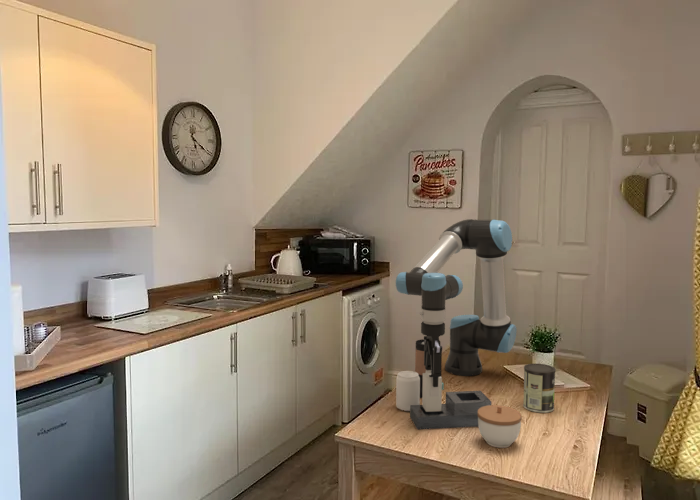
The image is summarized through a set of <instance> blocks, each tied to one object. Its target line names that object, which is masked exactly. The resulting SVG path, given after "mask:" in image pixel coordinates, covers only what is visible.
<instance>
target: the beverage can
mask: <svg viewBox="0 0 700 500" xmlns="http://www.w3.org/2000/svg"><path fill="white" fill-rule="evenodd" d="M395 379H396V381H395V382H396V385H395V386H396V387H395V389H396V390H395V391H396V392H395V398H396V399H395V407H396V408H397V409H399V410H401V411H403V410H404V411H403V412H410V405H421V401H420V400H421V398H420V377H419V374H418V373H417V372H415V370H414V371H413V370H402V371H399V372H397V376H396V378H395Z"/></svg>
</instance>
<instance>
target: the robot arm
mask: <svg viewBox="0 0 700 500" xmlns="http://www.w3.org/2000/svg"><path fill="white" fill-rule="evenodd" d="M512 233H513V232H512V229H511V227H510V225H509V224H508V223H507V222H506V221H504V220H499V219H498V220H497V219H463V220H461V221H457V222H455V223H454V224H452V225H451V226H449V227H447V228H446V229H445V230H444V231H443V232H442V233H441V234H440V235H439V237H438V241H437V242H436V243H435V244H434V245H433V247H431V248H430V249H429V250H428V252H427V253H426V254H425V255H424V256H423V257H422V258H421V259H420V261H418V262H417V264H416V265H415V266H414V267H412V268H411V270H410V271H402V272H399V273H398V274H397V276H396V279H395V288H396V290H397V292H398V293H400V294H403V295H404V294H405V295H410V296H411V295H412V296H420V297H421V311H419V315H421V318H420V319H421V323H420V333H421V334H422V335H423V339H424V366H425V369H427V370H426V373H431V375H429V377H430V397H433V396H439V377H442V375H443V374H442V370H443V369H442V366H443V365H442V363H443V361H442V358H443V356H442V355H443V346H442V345H441V341H440V337H441V336H444V335H445V333H446V323H445V322H446V301H448V300H450V299H453V298H456V297H458V296H459V295H460V294H461V293H462V291H463V288H464V284H463V281H462V280H461V278H460V277H459V276H458V275H454V274H447V275H446V274H445V273H441V272H440V270H441V269H442V268H443V267H444V266H445V265H446V264H447V262H449V260H450V259H451V258H452V257H453V256H454V254H458V253H460V252H461V250H474V251H475V254H476V257H477V258H478V259H479V260H480V273H481V274H480V275H481V289H482V304H483V316H482V317H479V315H478V314H477V315H476V314H461V315H457V316H456V315H455V316H453V317H452V318H451V319H450V323H449V353H448V356H447V357H446V358H447V359H446V361H445V365H444V367H445V368H444V369H445V370H444V371H446V372H447V373H449V374H452V375H456V376H463V377H465V376H466V377H470V376H471V377H473V376H478V375H480V374H481V373H482V372H483V365H482V361H481V358H480V355H479V350H484V351H489V352H496V353H502V354H503V353H505V354H507V353H509V352H510V351H512V348H513V347H514V345H515V342H516V337H517V325H516V324H514V323H511V317H510V316H509V315H507V305H506V303H507V302H506V287H505V285H506V284H505V282H506V281H505V270H504V269H505V267H504V258H505V257H506V256H507V255H508V252H509V251H510V250H511V249H512V244H513V234H512Z"/></svg>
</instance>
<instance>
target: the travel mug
mask: <svg viewBox="0 0 700 500" xmlns="http://www.w3.org/2000/svg"><path fill="white" fill-rule="evenodd" d="M414 356H415V358H414V360H415V362H414V372H417V373H418V374H419V377H420V399H422V389H423V373H426V370H427V369H425V366H424V338H422V339H417V340H416V341H415V355H414Z"/></svg>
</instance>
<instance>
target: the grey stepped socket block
mask: <svg viewBox="0 0 700 500" xmlns="http://www.w3.org/2000/svg"><path fill="white" fill-rule="evenodd" d="M488 405H492V400H491V399H490V398H488V397H487V395H486V394H484V392H483V391H482V390H463V391H445V403H442V406H441V411H432V412H426V411H425V409H424V408H423V406H422V404H420V405H410V411H409V417H410V419H411V421H412V423H413V425H414V427H415V428H416V430H419V431H421V430H436V429H438V430H439V429H455V428H456V429H457V428H472V427H473V428H475V427H478V415H477V413H478V409H479V408H481V407H483V406H488ZM478 428H479V427H478Z"/></svg>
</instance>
